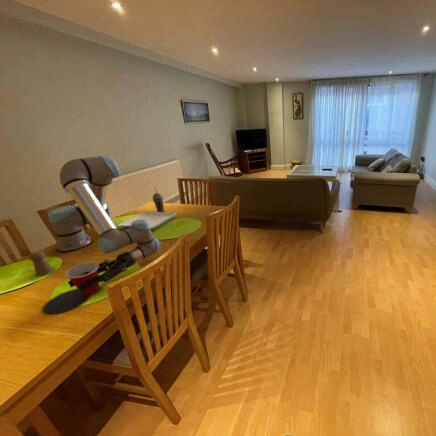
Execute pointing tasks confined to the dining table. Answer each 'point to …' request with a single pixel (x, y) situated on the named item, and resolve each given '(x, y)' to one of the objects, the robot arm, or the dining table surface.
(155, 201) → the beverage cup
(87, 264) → the plastic cup
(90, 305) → the dining table surface
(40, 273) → the pepper shaker
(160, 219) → the square plate
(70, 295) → the slate mat
